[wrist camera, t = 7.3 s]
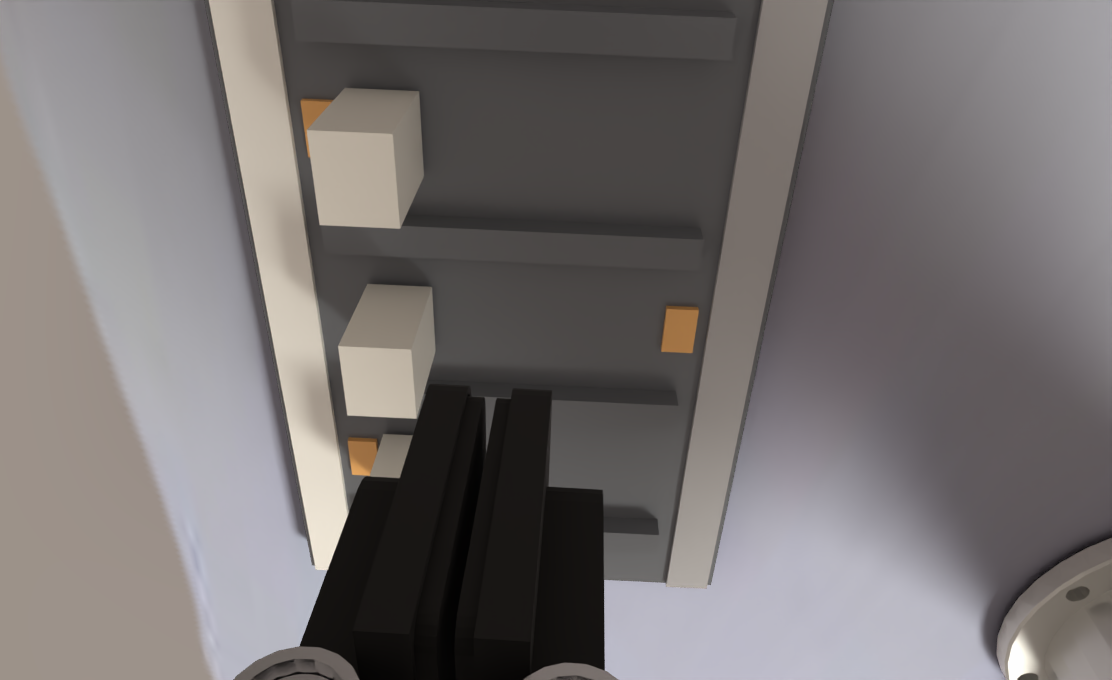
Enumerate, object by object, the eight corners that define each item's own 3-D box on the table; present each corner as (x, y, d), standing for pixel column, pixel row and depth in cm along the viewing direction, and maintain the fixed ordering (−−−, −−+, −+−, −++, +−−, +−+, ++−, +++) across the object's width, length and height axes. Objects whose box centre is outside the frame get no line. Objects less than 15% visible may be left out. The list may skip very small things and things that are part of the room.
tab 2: (435, 351, 26) (416, 418, 23) (374, 348, 26) (347, 415, 23) (432, 286, 25) (411, 349, 22) (367, 283, 25) (338, 346, 22)
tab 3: (443, 487, 29) (427, 561, 26) (388, 484, 29) (366, 558, 26) (440, 436, 28) (423, 508, 25) (383, 433, 28) (359, 505, 25)
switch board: (707, 565, 33) (713, 601, 31) (319, 546, 33) (306, 581, 31) (842, -100, 20) (863, -93, 18) (197, -127, 20) (166, -123, 18)
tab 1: (423, 176, 23) (400, 228, 20) (353, 173, 23) (319, 225, 20) (419, 91, 21) (392, 133, 19) (345, 88, 21) (306, 130, 19)
